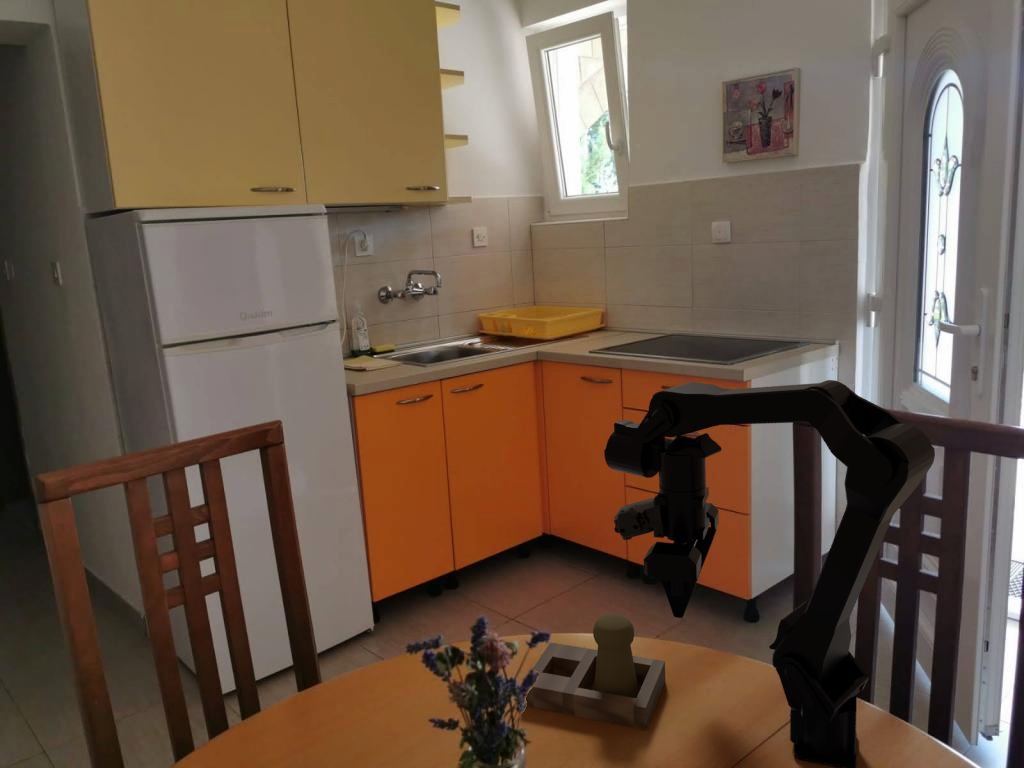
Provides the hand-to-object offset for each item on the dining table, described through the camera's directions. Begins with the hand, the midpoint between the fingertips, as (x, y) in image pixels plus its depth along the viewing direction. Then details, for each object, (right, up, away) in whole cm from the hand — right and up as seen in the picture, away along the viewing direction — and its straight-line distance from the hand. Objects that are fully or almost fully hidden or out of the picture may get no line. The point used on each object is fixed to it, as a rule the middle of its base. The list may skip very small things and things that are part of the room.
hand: (685, 600), depth 101 cm
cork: (-9, -13, 0) cm, 16 cm away
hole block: (-11, -13, +2) cm, 17 cm away
